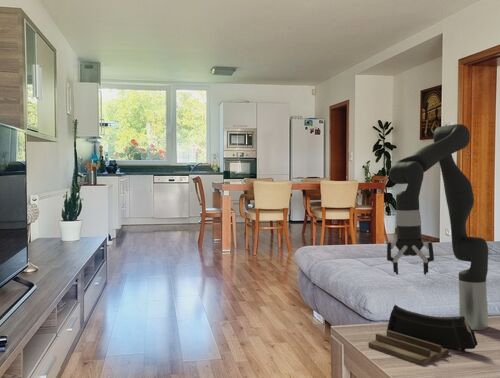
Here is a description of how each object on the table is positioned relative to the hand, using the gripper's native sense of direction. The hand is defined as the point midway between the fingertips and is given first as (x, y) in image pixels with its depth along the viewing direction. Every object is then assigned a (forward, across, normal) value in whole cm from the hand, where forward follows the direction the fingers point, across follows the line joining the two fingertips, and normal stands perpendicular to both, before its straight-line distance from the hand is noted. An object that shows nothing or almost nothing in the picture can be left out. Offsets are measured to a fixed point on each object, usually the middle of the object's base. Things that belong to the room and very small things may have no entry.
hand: (410, 274), depth 148 cm
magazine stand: (+24, +2, +1) cm, 25 cm away
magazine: (+25, -5, -8) cm, 27 cm away
